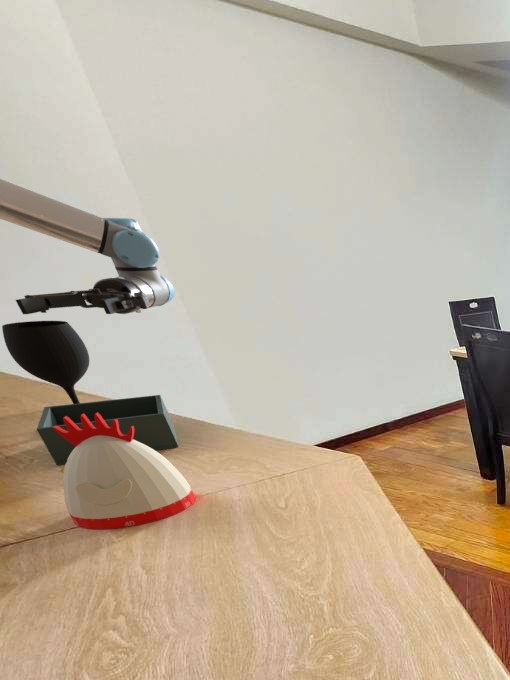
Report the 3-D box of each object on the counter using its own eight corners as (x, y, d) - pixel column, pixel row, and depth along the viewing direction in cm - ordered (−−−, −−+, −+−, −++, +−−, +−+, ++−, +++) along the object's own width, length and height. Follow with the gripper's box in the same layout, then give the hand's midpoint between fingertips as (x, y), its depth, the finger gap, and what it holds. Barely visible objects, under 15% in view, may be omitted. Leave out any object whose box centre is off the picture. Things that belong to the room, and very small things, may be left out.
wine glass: (110, 415, 129) (63, 318, 119) (130, 423, 125) (82, 324, 115) (44, 426, 121) (-13, 323, 112) (62, 436, 117) (4, 330, 107)
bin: (62, 440, 115) (44, 406, 112) (174, 425, 125) (160, 394, 122) (56, 465, 104) (36, 429, 101) (178, 447, 114) (163, 413, 111)
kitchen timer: (95, 498, 94) (44, 405, 86) (204, 486, 99) (165, 397, 92) (57, 536, 83) (-5, 433, 76) (182, 519, 89) (136, 422, 81)
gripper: (194, 311, 143) (147, 325, 126) (64, 312, 136) (-4, 327, 119) (180, 278, 139) (130, 287, 122) (47, 276, 133) (-27, 286, 115)
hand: (63, 307), depth 120 cm, fingers open, 13 cm apart
